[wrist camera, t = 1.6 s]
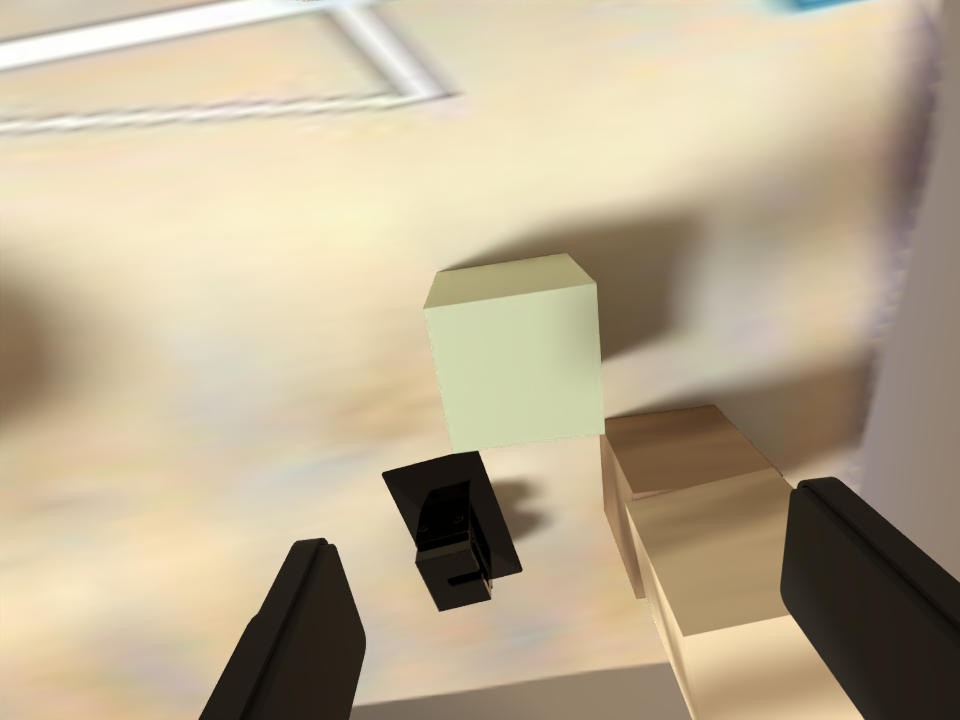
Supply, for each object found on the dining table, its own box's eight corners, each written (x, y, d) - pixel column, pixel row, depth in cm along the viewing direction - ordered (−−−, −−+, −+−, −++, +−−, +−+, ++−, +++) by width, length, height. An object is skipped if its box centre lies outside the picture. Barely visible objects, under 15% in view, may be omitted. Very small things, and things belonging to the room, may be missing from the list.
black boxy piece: (541, 579, 30) (552, 647, 26) (432, 605, 31) (426, 675, 27) (482, 415, 25) (483, 465, 21) (356, 450, 26) (334, 506, 22)
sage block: (436, 272, 22) (423, 308, 16) (565, 252, 22) (596, 283, 16) (458, 387, 24) (452, 453, 19) (575, 370, 24) (605, 433, 18)
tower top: (624, 502, 20) (683, 636, 14) (773, 467, 19) (895, 593, 13) (647, 603, 22) (705, 753, 16) (780, 574, 21) (888, 720, 16)
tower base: (598, 420, 25) (633, 493, 19) (714, 404, 25) (782, 475, 19) (604, 510, 27) (636, 598, 22) (709, 497, 27) (770, 583, 21)
